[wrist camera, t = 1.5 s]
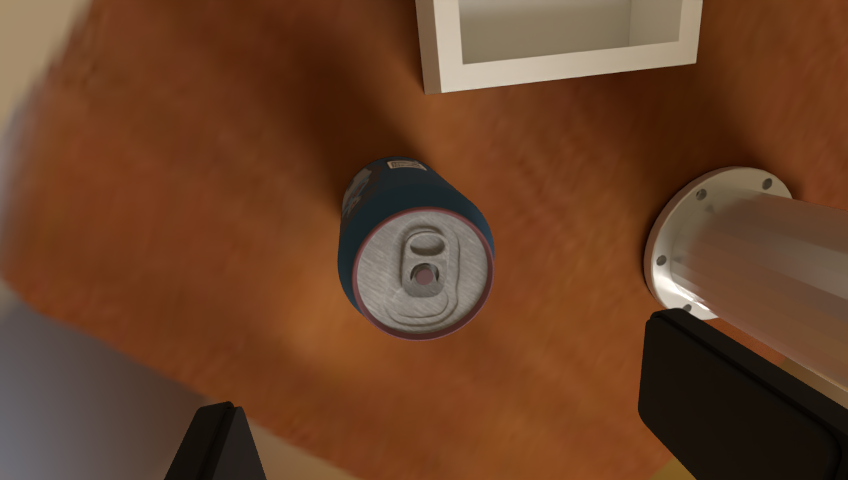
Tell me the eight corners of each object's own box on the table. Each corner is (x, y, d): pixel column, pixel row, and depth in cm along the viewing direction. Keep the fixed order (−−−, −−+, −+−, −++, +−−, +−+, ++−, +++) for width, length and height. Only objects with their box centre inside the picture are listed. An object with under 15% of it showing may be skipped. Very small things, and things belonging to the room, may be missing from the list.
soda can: (440, 255, 29) (496, 352, 18) (341, 253, 27) (333, 356, 16) (450, 157, 27) (522, 197, 15) (343, 150, 25) (337, 187, 14)
